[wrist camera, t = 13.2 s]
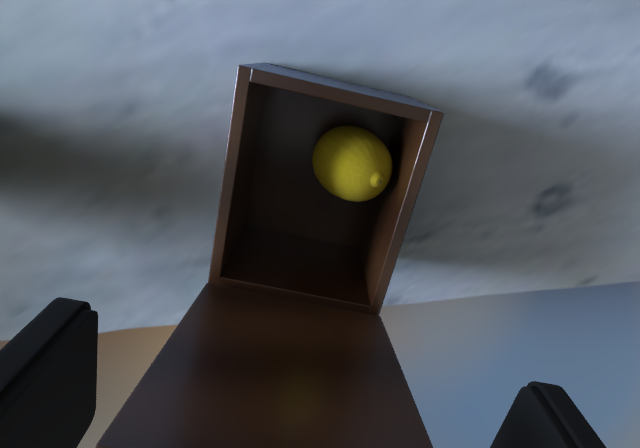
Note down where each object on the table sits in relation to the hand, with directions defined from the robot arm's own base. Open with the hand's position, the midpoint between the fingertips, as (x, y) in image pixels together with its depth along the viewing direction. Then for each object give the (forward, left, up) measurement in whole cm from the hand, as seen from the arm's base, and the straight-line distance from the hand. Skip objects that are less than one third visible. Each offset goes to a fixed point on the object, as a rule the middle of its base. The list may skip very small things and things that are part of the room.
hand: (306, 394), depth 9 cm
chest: (+2, 0, -30) cm, 30 cm away
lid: (+8, 0, -11) cm, 13 cm away
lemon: (0, +1, -28) cm, 28 cm away
